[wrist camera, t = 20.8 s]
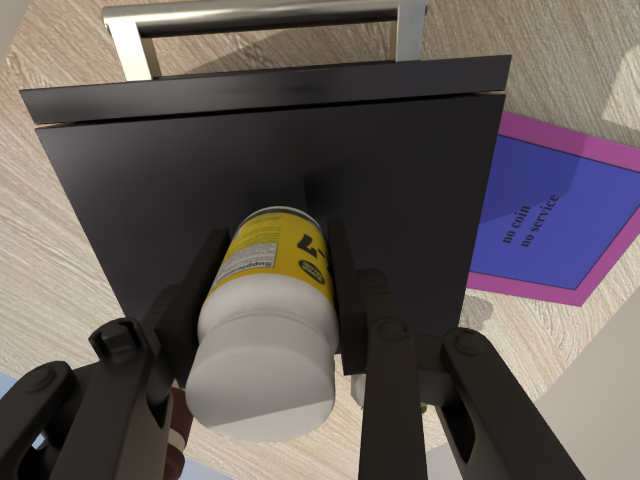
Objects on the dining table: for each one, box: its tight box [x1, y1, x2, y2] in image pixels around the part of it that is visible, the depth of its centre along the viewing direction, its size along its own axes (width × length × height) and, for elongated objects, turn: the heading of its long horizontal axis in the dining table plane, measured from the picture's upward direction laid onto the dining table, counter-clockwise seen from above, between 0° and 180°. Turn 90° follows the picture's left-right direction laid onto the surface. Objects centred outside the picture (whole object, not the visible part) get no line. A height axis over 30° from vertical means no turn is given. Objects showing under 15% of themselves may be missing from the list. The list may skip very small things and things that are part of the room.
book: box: [466, 110, 640, 307], centre depth 38 cm, size 21×3×30 cm
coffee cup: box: [163, 379, 194, 480], centre depth 44 cm, size 10×10×15 cm
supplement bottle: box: [185, 206, 340, 443], centre depth 12 cm, size 5×5×8 cm
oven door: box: [19, 0, 512, 125], centre depth 22 cm, size 5×24×18 cm, turn 94°
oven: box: [35, 92, 506, 354], centre depth 28 cm, size 18×24×18 cm
